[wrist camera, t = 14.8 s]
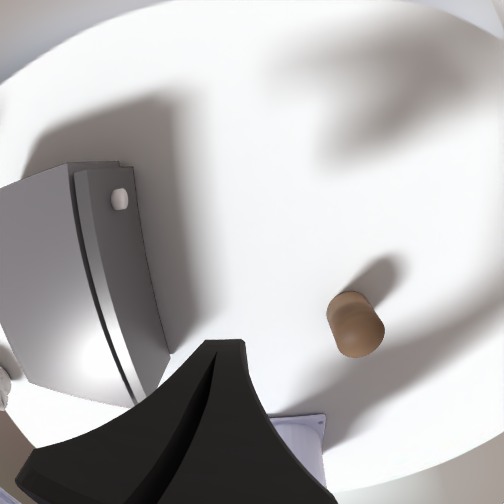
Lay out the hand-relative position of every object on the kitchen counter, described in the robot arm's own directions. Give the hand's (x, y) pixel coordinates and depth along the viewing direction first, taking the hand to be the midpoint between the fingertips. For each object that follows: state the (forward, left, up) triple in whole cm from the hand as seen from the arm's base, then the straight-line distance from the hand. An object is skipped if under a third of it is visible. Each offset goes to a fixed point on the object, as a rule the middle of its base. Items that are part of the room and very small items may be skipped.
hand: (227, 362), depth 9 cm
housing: (0, +14, -10) cm, 17 cm away
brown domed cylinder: (-4, -7, -10) cm, 13 cm away
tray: (0, +12, -10) cm, 16 cm away
